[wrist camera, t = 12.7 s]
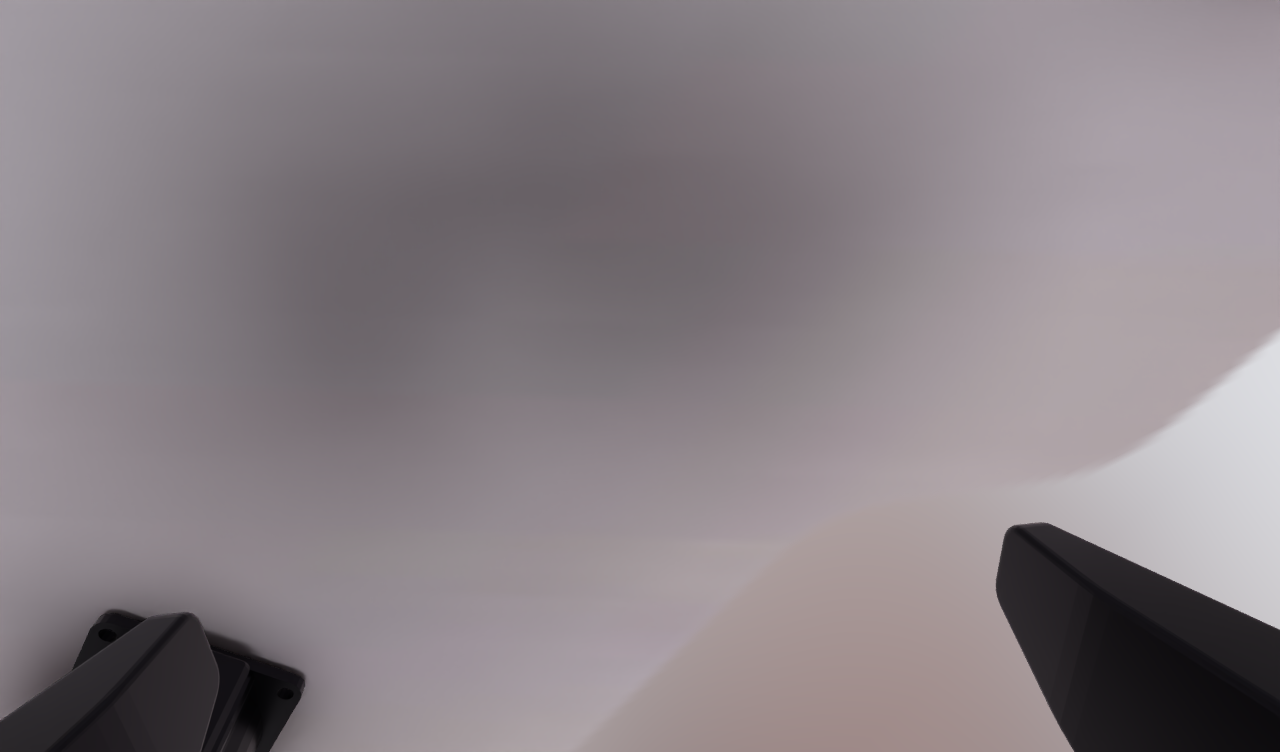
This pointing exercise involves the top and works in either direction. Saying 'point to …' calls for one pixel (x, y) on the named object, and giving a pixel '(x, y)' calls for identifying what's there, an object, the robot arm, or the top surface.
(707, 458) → the top surface
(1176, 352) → the top surface
